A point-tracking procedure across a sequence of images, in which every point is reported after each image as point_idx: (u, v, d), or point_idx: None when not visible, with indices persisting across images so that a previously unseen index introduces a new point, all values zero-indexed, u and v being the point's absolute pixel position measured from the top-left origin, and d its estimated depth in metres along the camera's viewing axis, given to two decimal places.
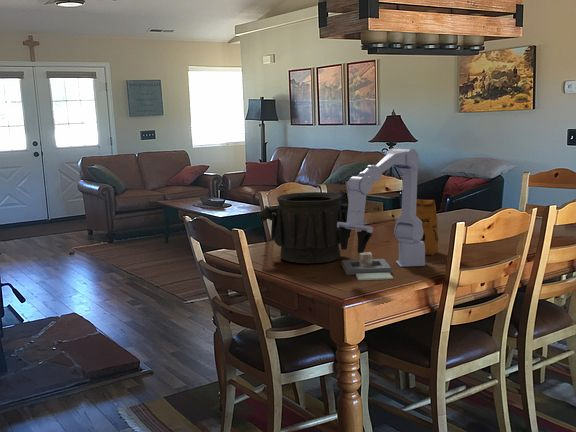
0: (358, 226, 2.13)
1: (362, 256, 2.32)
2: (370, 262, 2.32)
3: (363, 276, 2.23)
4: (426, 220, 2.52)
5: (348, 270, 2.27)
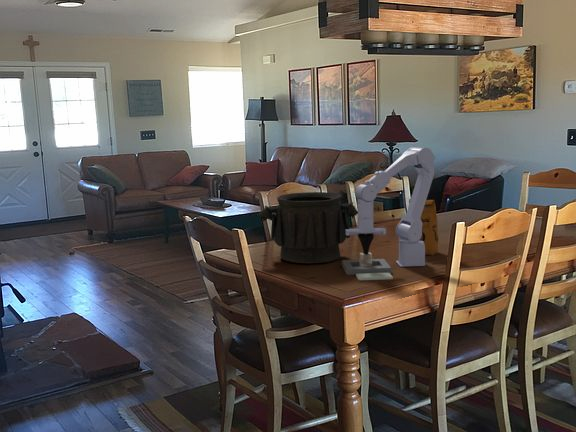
0: (375, 231, 2.31)
1: (362, 256, 2.32)
2: (370, 262, 2.32)
3: (363, 276, 2.23)
4: (426, 220, 2.52)
5: (348, 270, 2.27)
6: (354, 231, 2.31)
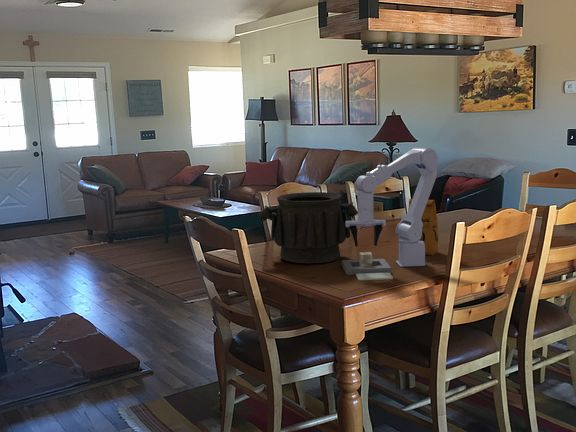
0: (375, 222, 2.30)
1: (362, 256, 2.32)
2: (370, 262, 2.32)
3: (363, 276, 2.23)
4: (426, 220, 2.52)
5: (348, 270, 2.27)
6: (354, 222, 2.30)
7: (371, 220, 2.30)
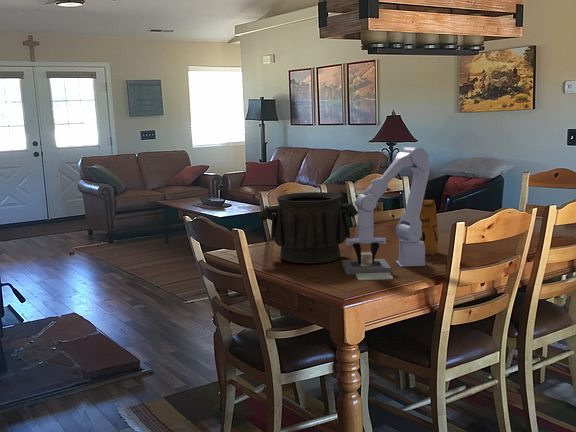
0: (375, 240, 2.31)
1: (362, 256, 2.32)
2: (370, 262, 2.32)
3: (363, 276, 2.23)
4: (426, 220, 2.52)
5: (348, 270, 2.27)
6: (354, 241, 2.31)
7: (371, 238, 2.31)
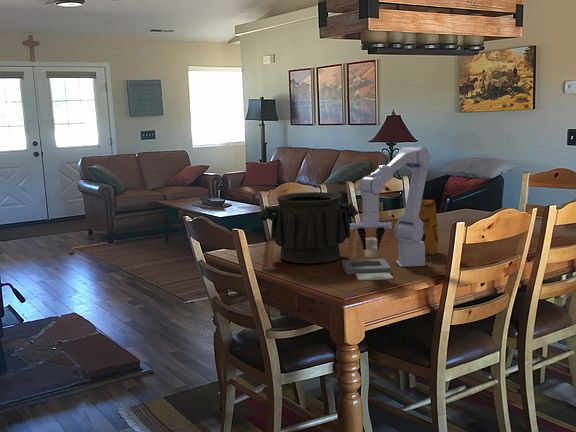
0: (381, 225, 2.23)
1: (367, 241, 2.24)
2: (375, 248, 2.24)
3: (363, 276, 2.23)
4: (426, 220, 2.52)
5: (348, 270, 2.27)
6: (359, 225, 2.23)
7: (376, 223, 2.22)
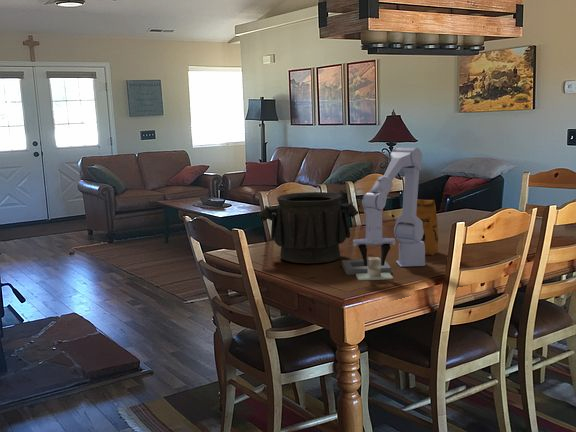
0: (384, 241, 2.20)
1: (370, 261, 2.21)
2: (378, 268, 2.21)
3: (363, 276, 2.23)
4: (426, 220, 2.52)
5: (348, 270, 2.27)
6: (362, 241, 2.20)
7: (380, 239, 2.19)
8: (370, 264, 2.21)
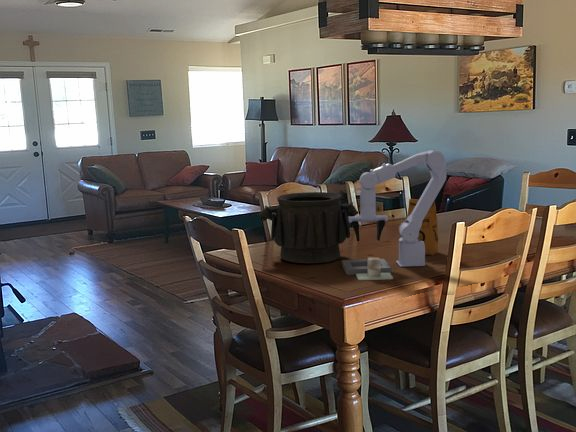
0: (378, 218, 2.36)
1: (370, 261, 2.21)
2: (378, 268, 2.21)
3: (363, 276, 2.23)
4: (426, 220, 2.52)
5: (348, 270, 2.27)
6: (357, 218, 2.36)
7: (373, 216, 2.36)
8: (370, 264, 2.21)
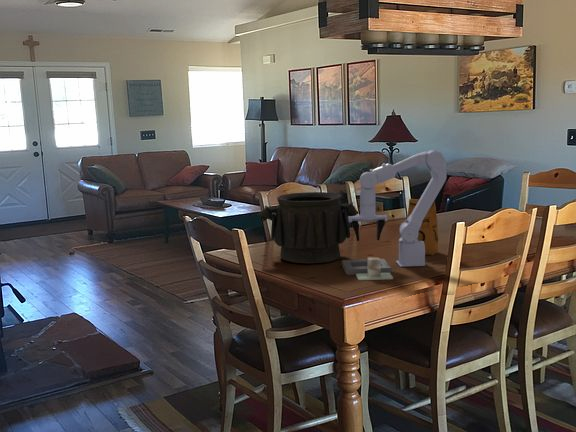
0: (377, 217, 2.37)
1: (370, 261, 2.21)
2: (378, 268, 2.21)
3: (363, 276, 2.23)
4: (426, 220, 2.52)
5: (348, 270, 2.27)
6: (357, 218, 2.37)
7: (373, 215, 2.37)
8: (370, 264, 2.21)
